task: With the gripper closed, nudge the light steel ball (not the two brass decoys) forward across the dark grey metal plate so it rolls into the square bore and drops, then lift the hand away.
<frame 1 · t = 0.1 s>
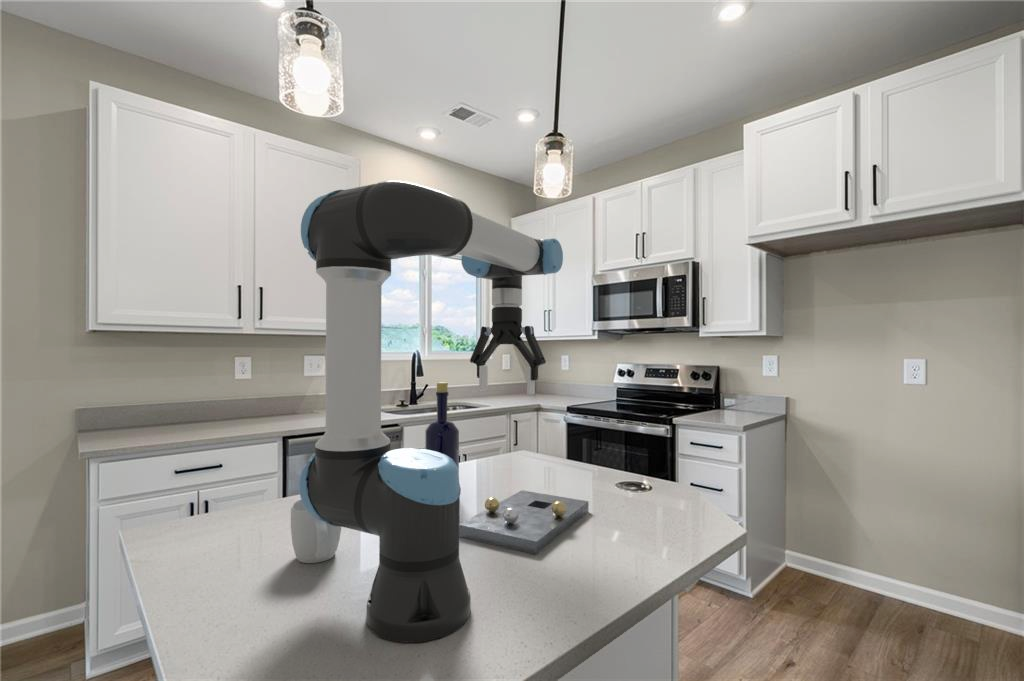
hand: (506, 392, 123), 28 cm above the countertop, fingers open, 13 cm apart
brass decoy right: (558, 508, 109), point 4 cm above the countertop, touching plate
bottle: (441, 500, 128), on the countertop
plate: (528, 523, 111), on the countertop
steel ball: (510, 515, 104), point 4 cm above the countertop, touching plate
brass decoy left: (492, 504, 111), point 4 cm above the countertop, touching plate
mug: (317, 561, 92), on the countertop
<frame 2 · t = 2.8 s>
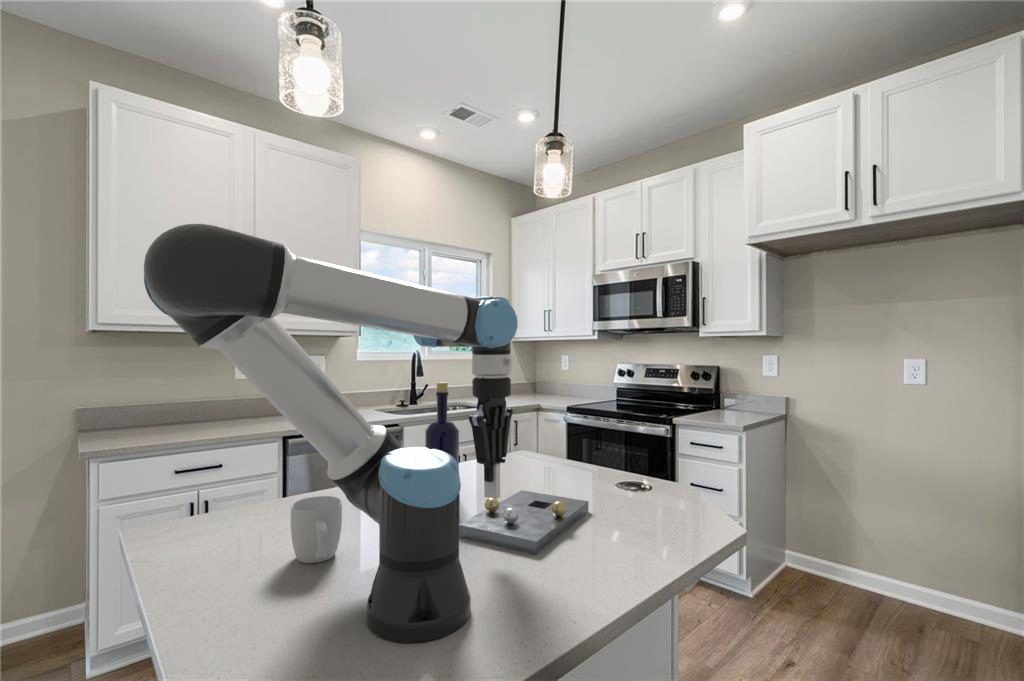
hand: (492, 496, 97), 10 cm above the countertop, fingers closed
nothing on the countertop moved.
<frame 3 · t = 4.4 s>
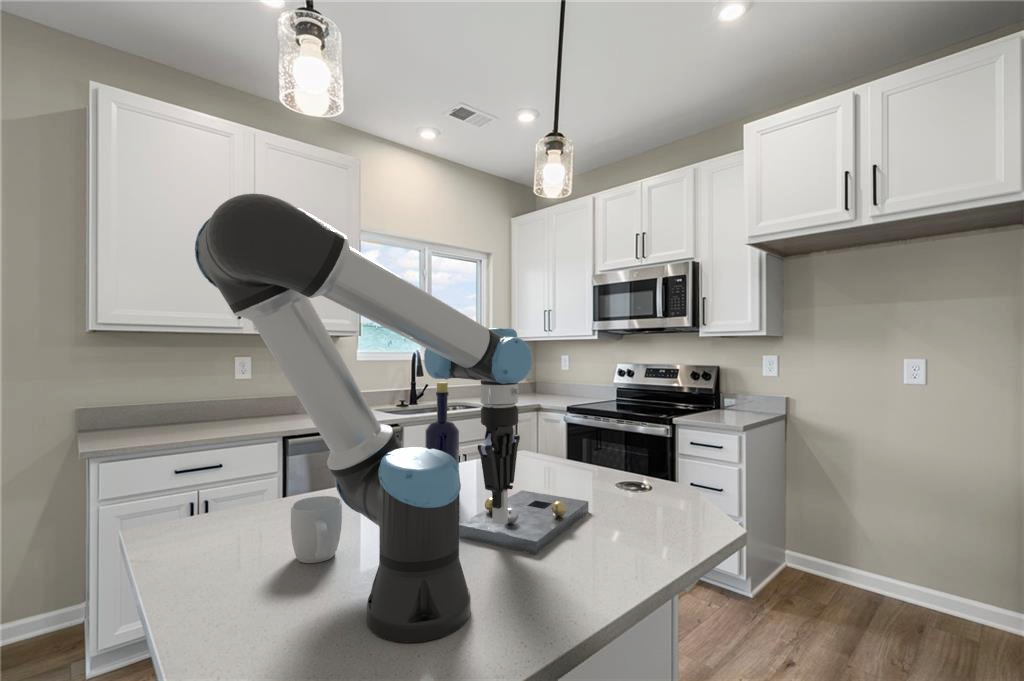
hand: (500, 522, 100), 4 cm above the countertop, fingers closed
nothing on the countertop moved.
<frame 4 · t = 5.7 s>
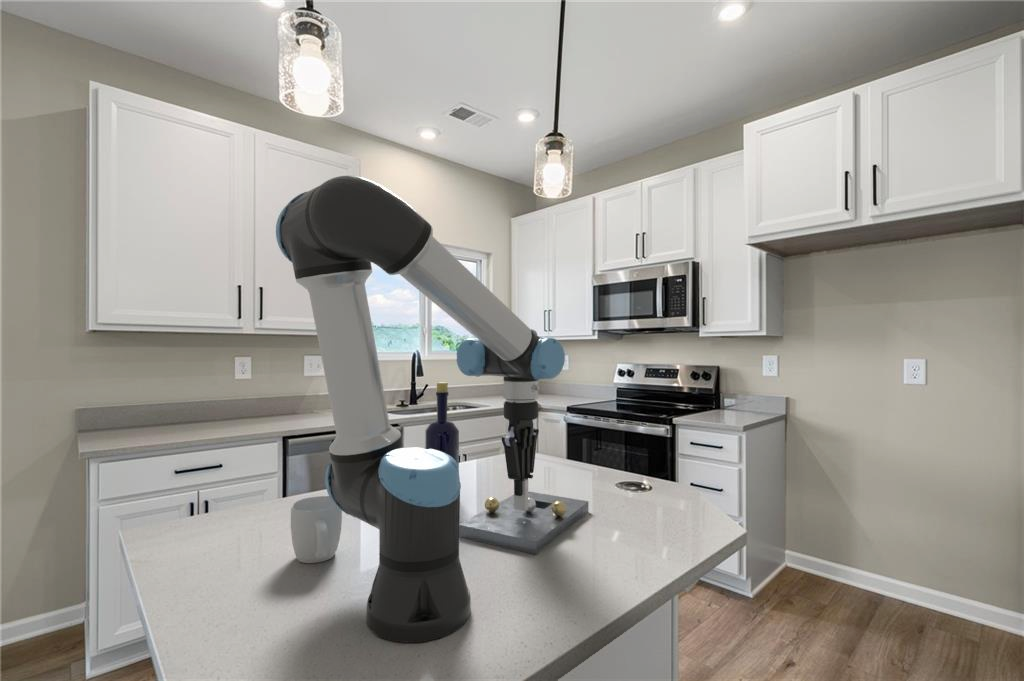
hand: (521, 509, 108), 4 cm above the countertop, fingers closed
steel ball: (528, 504, 111), point 4 cm above the countertop, tilted 73°, touching plate
everything else where it was.
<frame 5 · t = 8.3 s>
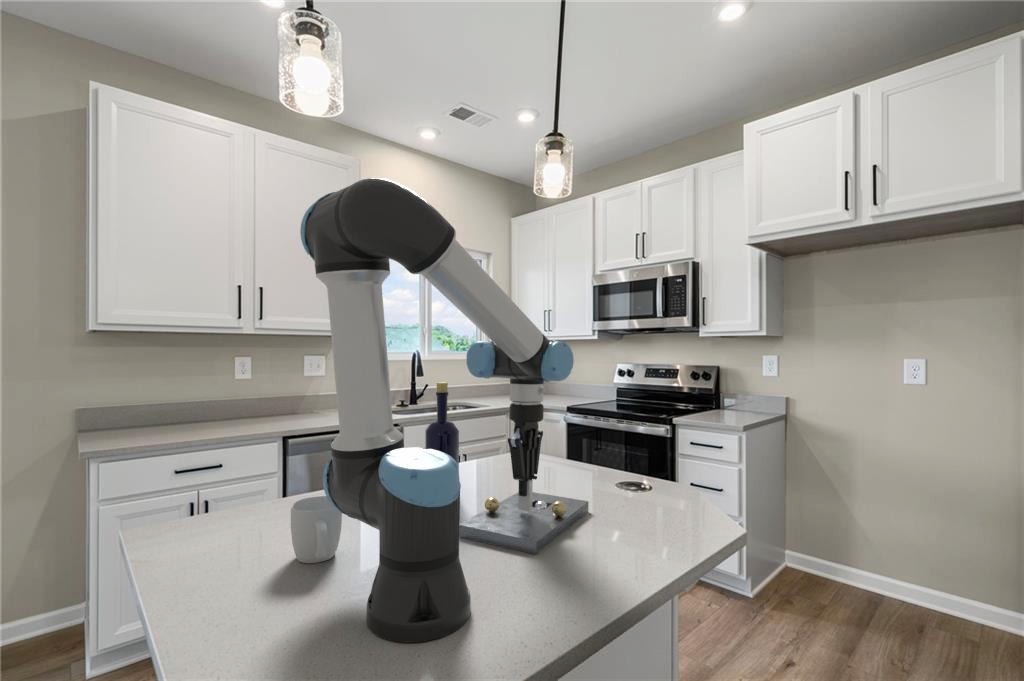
hand: (525, 509, 110), 3 cm above the countertop, fingers closed
steel ball: (541, 508, 117), point 2 cm above the countertop, tilted 169°
everything else where it was.
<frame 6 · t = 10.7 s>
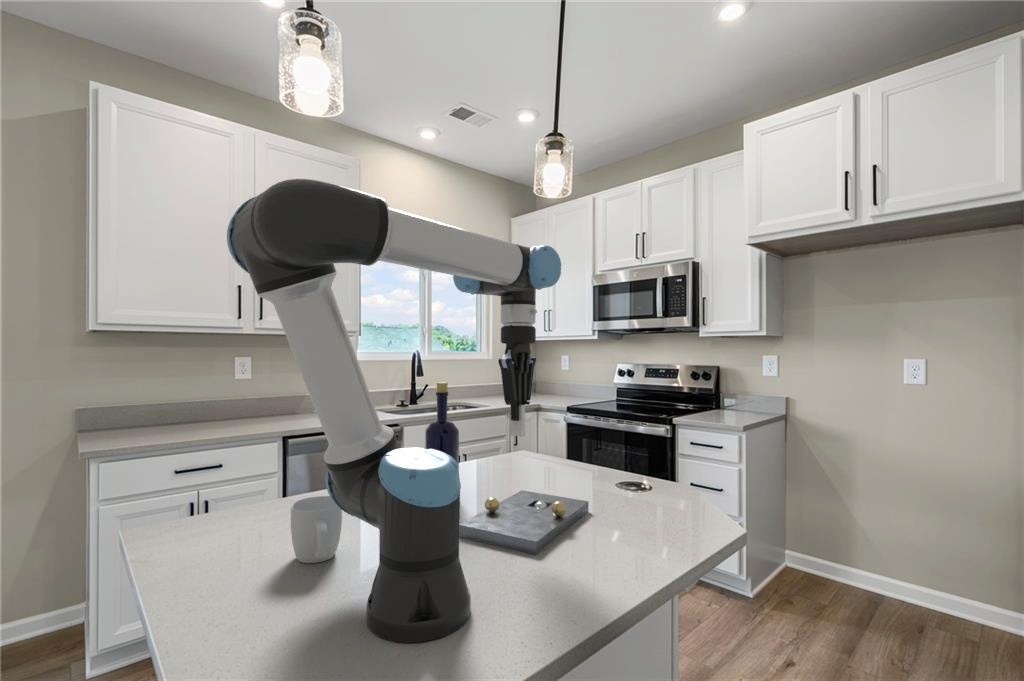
hand: (517, 435, 107), 20 cm above the countertop, fingers closed
steel ball: (540, 508, 116), point 2 cm above the countertop, tilted 179°
everything else where it was.
at the end: steel ball 0.2 cm from the target spot in the plate, point 1.6 cm above the plate's base; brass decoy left moved 0.1 cm from its start; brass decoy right moved 0.1 cm from its start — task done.
